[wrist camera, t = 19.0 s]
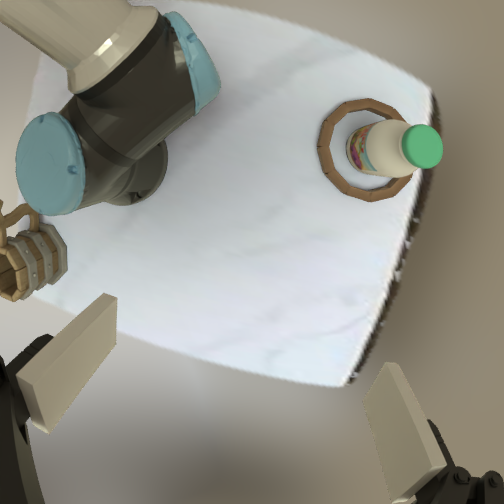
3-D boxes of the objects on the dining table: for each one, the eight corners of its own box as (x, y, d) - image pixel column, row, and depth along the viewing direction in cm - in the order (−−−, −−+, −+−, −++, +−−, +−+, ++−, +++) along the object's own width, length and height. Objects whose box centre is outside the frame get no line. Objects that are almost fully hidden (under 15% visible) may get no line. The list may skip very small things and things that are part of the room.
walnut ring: (307, 182, 46) (308, 183, 44) (330, 89, 42) (334, 85, 39) (395, 210, 46) (401, 213, 44) (418, 123, 42) (424, 121, 39)
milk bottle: (394, 138, 43) (462, 129, 24) (381, 181, 45) (444, 195, 26) (352, 120, 43) (403, 96, 24) (339, 164, 45) (383, 166, 26)
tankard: (69, 286, 55) (25, 317, 40) (29, 273, 55) (-14, 299, 41) (68, 190, 49) (14, 203, 35) (26, 186, 49) (-24, 197, 35)
